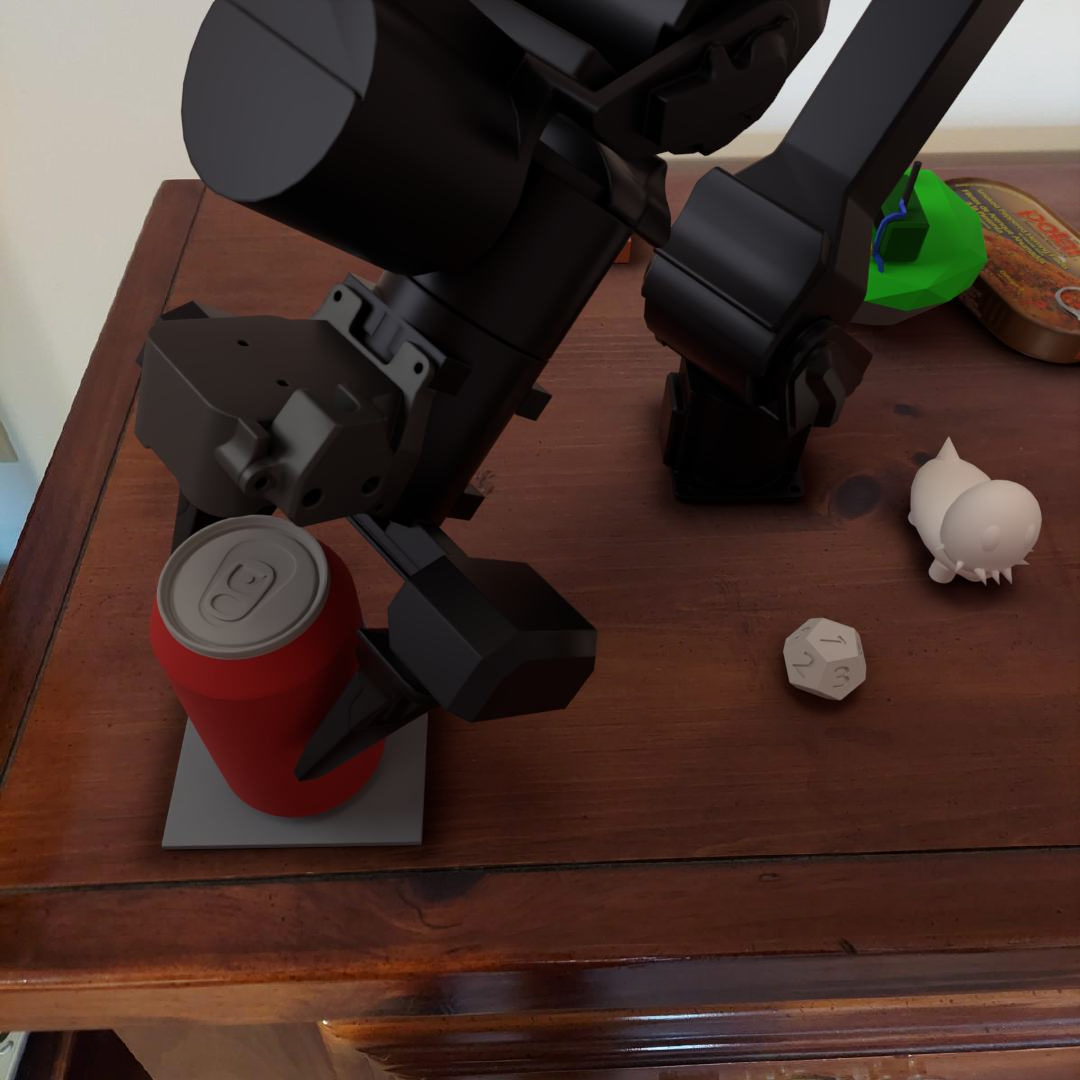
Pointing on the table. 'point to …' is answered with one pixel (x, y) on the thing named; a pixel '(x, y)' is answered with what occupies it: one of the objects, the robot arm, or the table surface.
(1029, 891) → the table surface
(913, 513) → the toy creature
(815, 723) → the table surface
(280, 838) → the grey mat
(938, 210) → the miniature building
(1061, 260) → the tin
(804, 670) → the game die
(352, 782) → the beverage can
